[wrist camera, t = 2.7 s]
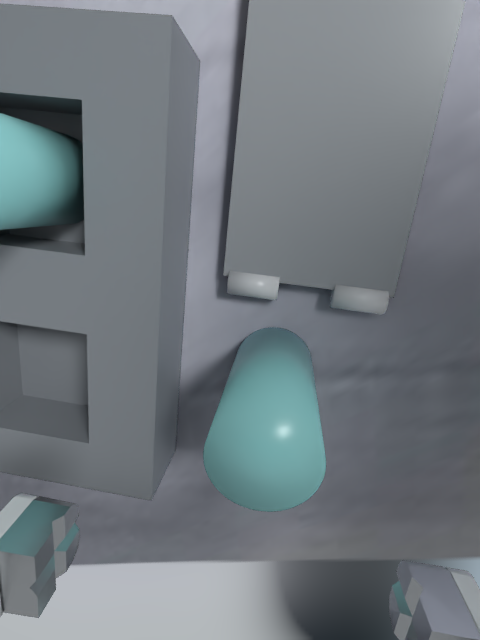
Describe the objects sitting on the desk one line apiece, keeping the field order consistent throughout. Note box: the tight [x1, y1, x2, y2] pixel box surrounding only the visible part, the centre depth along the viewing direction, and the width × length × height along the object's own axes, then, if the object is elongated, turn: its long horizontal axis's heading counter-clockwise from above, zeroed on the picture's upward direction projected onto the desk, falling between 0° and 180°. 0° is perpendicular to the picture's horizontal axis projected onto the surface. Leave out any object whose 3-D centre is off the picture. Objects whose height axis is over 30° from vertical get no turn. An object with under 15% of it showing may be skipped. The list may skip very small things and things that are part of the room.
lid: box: [223, 0, 466, 315], centre depth 16 cm, size 8×13×1 cm, turn 174°
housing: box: [0, 4, 200, 501], centre depth 18 cm, size 12×20×4 cm, turn 174°
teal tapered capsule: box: [203, 327, 326, 512], centre depth 16 cm, size 4×4×8 cm
